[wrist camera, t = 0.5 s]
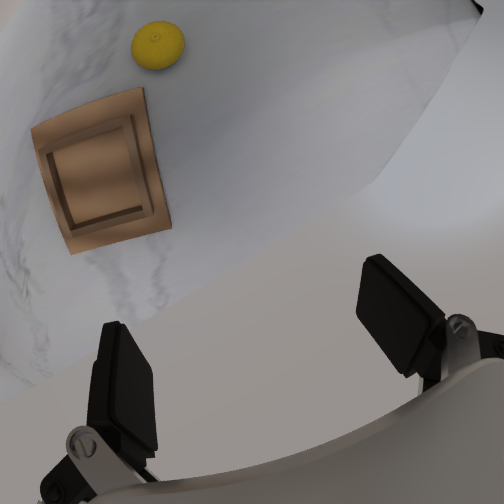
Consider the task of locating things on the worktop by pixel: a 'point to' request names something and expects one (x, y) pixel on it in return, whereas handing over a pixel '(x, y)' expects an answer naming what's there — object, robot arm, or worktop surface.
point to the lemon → (157, 45)
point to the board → (102, 172)
